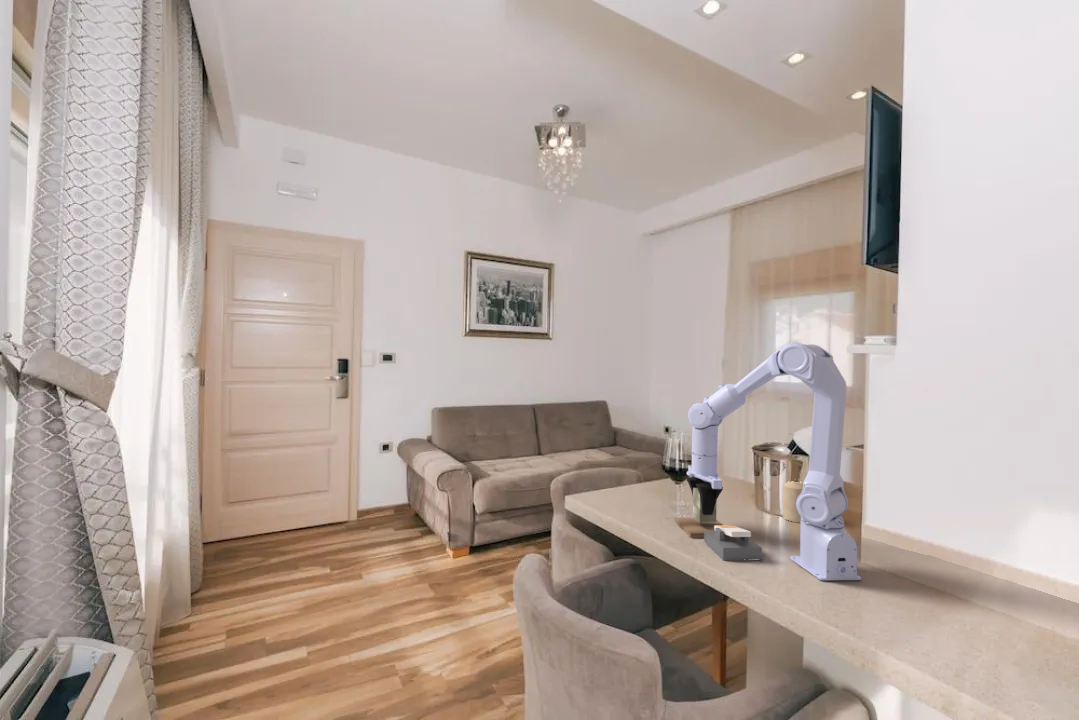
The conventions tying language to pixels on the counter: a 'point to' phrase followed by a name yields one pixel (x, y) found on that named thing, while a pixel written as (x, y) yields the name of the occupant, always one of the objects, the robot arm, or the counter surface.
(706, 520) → the block
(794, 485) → the candle
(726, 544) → the switch base
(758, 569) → the counter surface
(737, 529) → the rocker
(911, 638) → the counter surface
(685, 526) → the walnut board
